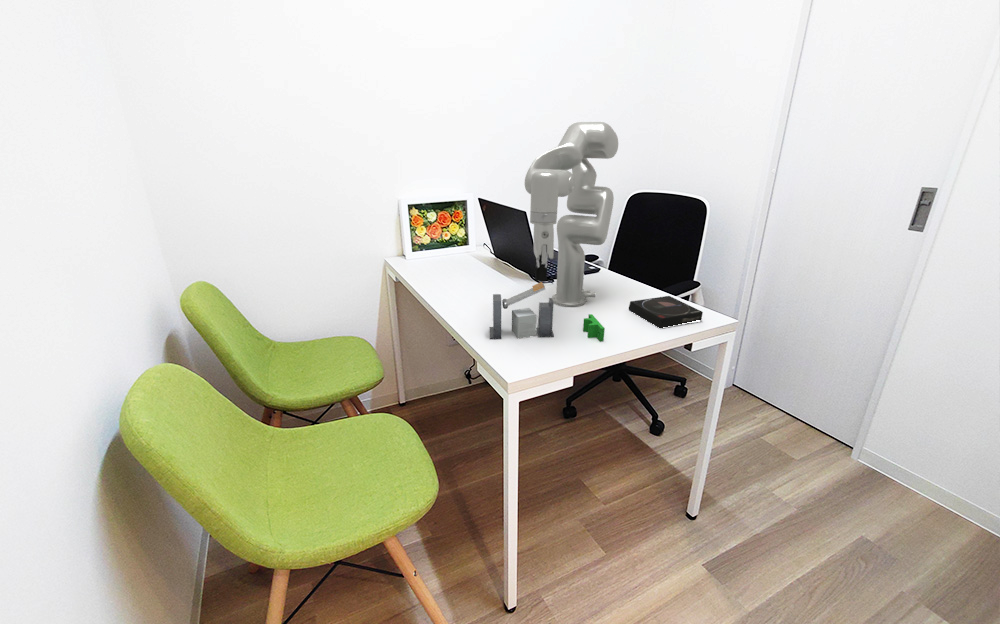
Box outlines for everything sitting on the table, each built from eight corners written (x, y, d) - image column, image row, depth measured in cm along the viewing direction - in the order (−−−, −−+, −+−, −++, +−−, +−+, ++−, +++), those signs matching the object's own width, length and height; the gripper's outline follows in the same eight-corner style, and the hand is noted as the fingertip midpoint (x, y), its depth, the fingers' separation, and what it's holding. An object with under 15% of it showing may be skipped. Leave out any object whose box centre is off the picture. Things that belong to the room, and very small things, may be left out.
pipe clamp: (579, 327, 143) (580, 314, 141) (591, 327, 143) (592, 314, 142) (591, 342, 133) (592, 328, 131) (603, 341, 133) (604, 327, 131)
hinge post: (500, 328, 142) (500, 293, 137) (501, 339, 134) (501, 302, 130) (489, 328, 142) (489, 293, 137) (489, 339, 134) (489, 302, 130)
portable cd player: (666, 305, 162) (667, 295, 160) (700, 323, 147) (702, 311, 145) (628, 311, 157) (629, 300, 155) (659, 330, 142) (661, 318, 140)
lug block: (551, 329, 141) (552, 296, 137) (553, 337, 136) (555, 303, 132) (536, 329, 141) (537, 296, 137) (538, 337, 136) (539, 303, 132)
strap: (544, 286, 135) (542, 281, 134) (546, 290, 131) (544, 285, 130) (503, 304, 137) (501, 299, 136) (504, 309, 133) (501, 304, 132)
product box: (511, 331, 140) (511, 309, 137) (529, 328, 142) (529, 307, 139) (517, 339, 135) (517, 316, 132) (536, 336, 136) (536, 314, 134)
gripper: (560, 222, 118) (557, 287, 125) (553, 213, 132) (550, 272, 139) (532, 222, 118) (530, 287, 124) (527, 213, 132) (526, 272, 138)
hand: (540, 279), depth 131 cm, fingers closed
